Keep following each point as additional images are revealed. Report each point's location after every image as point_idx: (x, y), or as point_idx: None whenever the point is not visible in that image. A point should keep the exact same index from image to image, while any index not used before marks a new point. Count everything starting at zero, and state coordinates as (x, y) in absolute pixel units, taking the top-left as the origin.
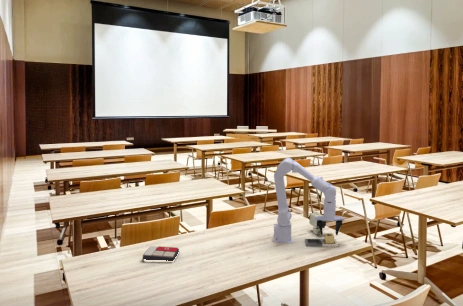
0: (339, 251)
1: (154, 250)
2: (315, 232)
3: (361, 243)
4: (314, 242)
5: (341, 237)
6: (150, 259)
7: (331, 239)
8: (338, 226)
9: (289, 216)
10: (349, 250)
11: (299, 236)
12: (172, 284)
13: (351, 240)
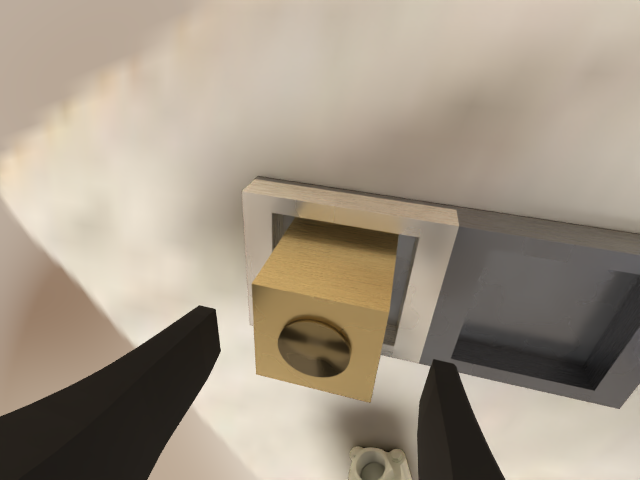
0: (266, 40)
1: None
2: (402, 476)
3: (42, 231)
4: (501, 329)
5: None
6: None
7: (308, 261)
8: (56, 426)
9: None
10: (141, 68)
11: (581, 473)
12: None
13: (124, 300)
